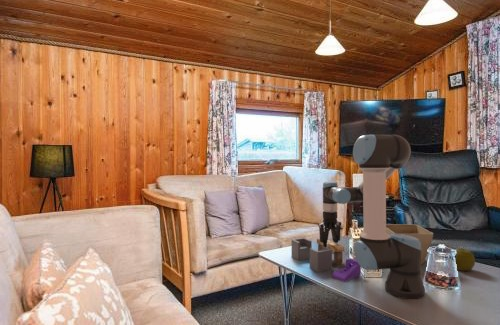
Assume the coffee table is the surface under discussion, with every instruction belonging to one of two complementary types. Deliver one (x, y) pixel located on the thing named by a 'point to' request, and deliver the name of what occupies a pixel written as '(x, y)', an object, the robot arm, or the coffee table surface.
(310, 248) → the end caps
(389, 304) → the coffee table surface
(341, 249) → the slat
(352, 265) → the bracket
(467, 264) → the apple
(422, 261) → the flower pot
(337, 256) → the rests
